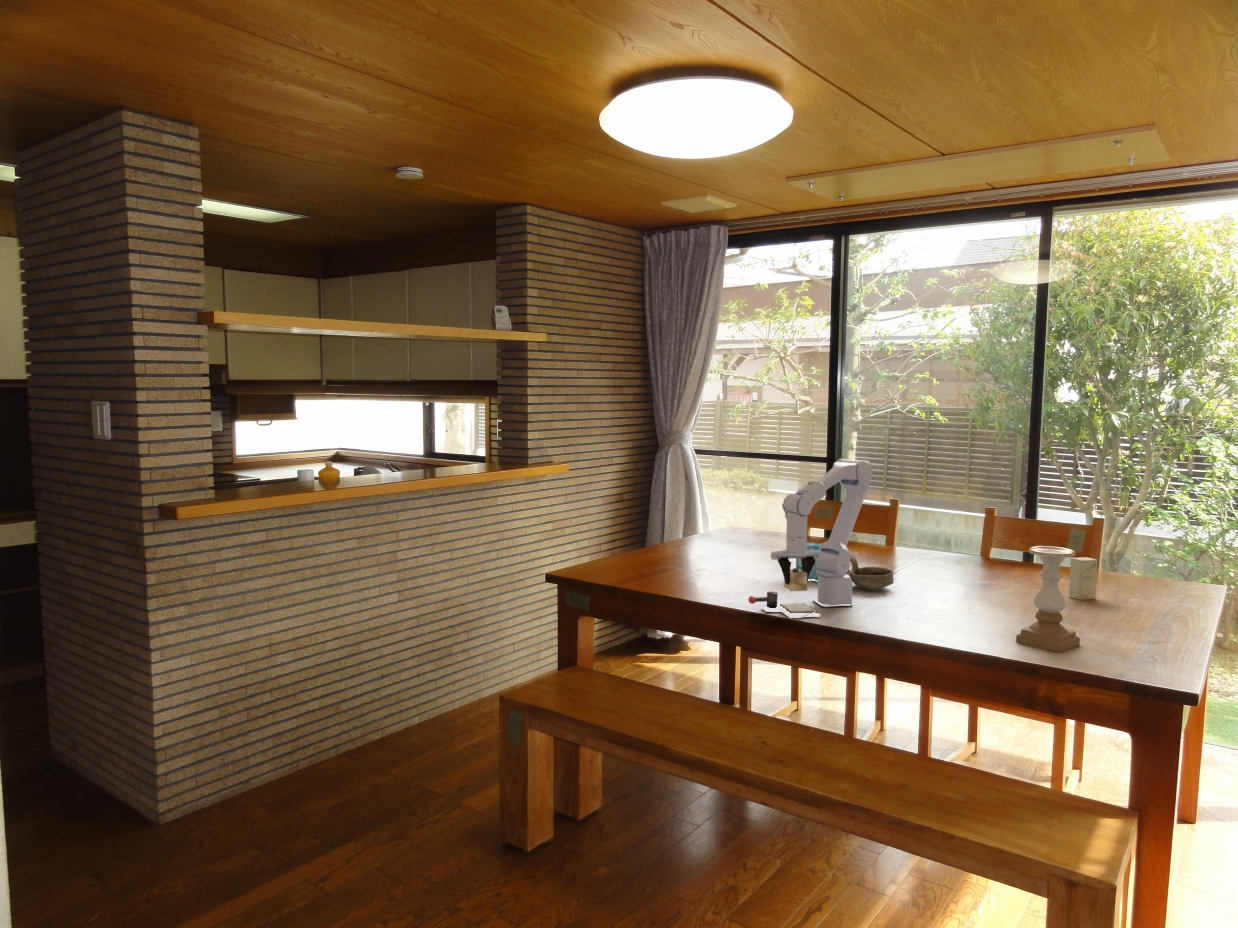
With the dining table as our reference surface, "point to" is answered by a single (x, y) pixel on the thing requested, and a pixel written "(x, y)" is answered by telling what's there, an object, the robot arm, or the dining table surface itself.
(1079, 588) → the skincare box
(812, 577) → the data package
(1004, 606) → the dining table surface
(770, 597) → the lever
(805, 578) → the block
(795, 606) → the grey square slab
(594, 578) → the dining table surface
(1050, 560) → the candle holder
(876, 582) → the bowl
